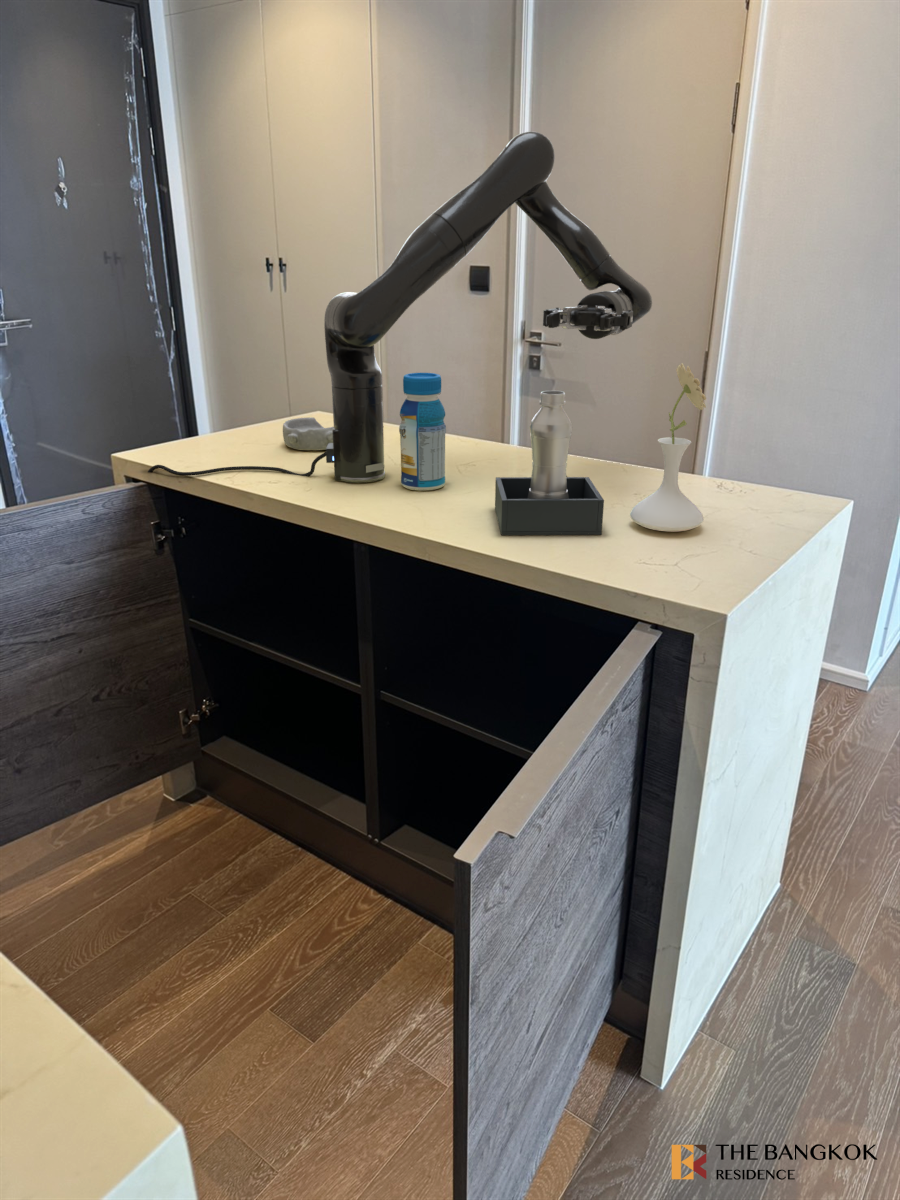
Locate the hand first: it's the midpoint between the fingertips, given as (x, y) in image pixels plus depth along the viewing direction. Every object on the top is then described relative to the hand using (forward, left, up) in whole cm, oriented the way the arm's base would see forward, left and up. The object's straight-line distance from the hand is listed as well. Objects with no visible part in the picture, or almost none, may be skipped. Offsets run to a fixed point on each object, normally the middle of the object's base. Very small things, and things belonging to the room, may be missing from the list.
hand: (576, 322), depth 137 cm
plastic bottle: (-4, -10, -30) cm, 32 cm away
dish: (-49, +45, -30) cm, 73 cm away
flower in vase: (+14, -12, -30) cm, 36 cm away
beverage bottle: (-25, +12, -30) cm, 41 cm away
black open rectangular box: (-5, -10, -30) cm, 32 cm away
